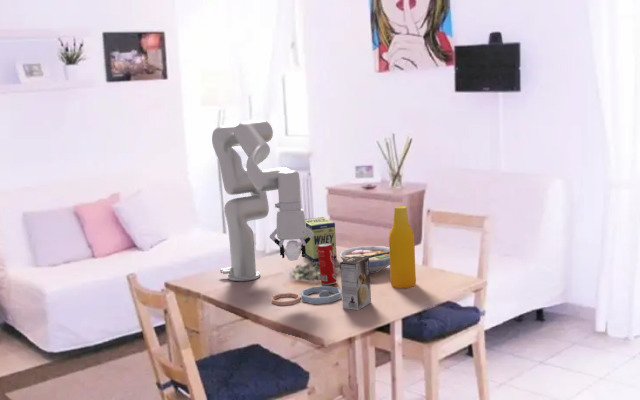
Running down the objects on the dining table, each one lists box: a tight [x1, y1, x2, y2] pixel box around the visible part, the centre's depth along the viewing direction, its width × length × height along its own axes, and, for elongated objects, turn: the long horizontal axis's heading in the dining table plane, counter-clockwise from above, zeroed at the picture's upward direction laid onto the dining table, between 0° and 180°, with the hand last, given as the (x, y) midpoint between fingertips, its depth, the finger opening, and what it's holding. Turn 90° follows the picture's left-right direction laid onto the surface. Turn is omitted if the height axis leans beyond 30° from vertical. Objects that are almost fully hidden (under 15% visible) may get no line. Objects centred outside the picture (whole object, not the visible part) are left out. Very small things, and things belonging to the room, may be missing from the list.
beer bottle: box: [388, 205, 417, 289], centre depth 282 cm, size 9×9×29 cm
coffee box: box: [339, 256, 372, 311], centre depth 263 cm, size 9×6×16 cm
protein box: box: [304, 216, 338, 263], centre depth 331 cm, size 10×16×16 cm
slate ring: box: [300, 285, 342, 305], centre depth 275 cm, size 14×14×2 cm
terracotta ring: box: [270, 292, 301, 306], centre depth 274 cm, size 10×10×1 cm
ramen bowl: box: [339, 245, 390, 274], centre depth 305 cm, size 25×23×8 cm
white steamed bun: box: [284, 239, 302, 261], centre depth 272 cm, size 6×6×7 cm
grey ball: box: [318, 290, 330, 297], centre depth 272 cm, size 4×4×4 cm
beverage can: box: [318, 243, 337, 286], centre depth 291 cm, size 6×6×15 cm
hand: (293, 256), depth 272 cm, fingers closed on white steamed bun, 6 cm apart
